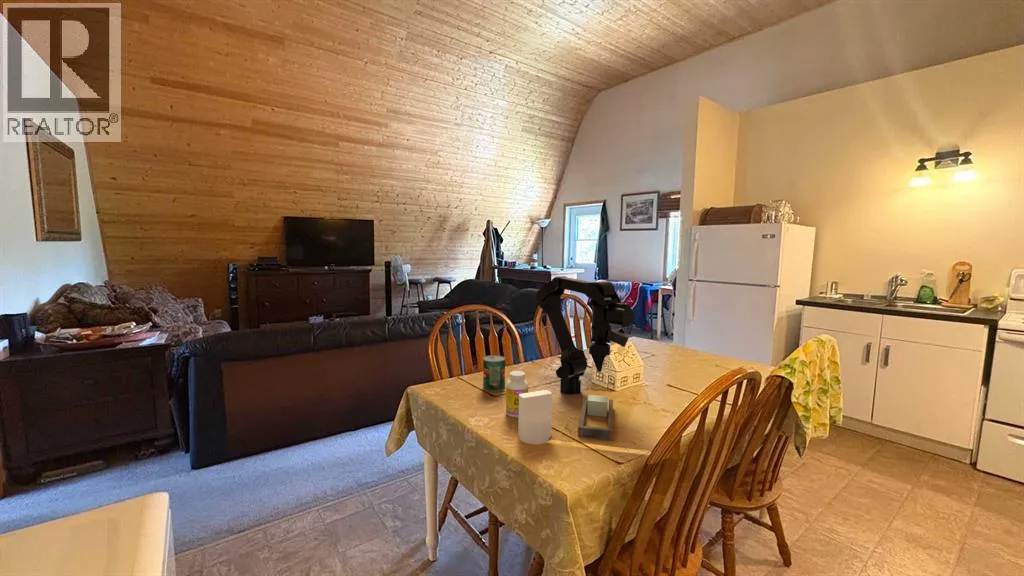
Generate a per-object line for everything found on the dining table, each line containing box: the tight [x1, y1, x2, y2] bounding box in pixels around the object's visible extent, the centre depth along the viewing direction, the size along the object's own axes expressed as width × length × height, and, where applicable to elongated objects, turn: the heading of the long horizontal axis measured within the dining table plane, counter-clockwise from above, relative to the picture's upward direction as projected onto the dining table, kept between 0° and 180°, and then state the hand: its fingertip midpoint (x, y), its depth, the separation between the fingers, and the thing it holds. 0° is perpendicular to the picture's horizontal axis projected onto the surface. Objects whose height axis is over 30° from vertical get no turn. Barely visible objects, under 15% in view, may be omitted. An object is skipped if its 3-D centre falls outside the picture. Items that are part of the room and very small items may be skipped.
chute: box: [577, 396, 614, 442], centre depth 121 cm, size 9×22×4 cm, turn 166°
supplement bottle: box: [505, 370, 529, 419], centre depth 127 cm, size 7×7×13 cm
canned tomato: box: [482, 354, 506, 393], centre depth 150 cm, size 8×8×11 cm
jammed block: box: [586, 394, 609, 418], centre depth 127 cm, size 6×5×4 cm
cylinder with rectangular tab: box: [517, 389, 553, 445], centre depth 113 cm, size 9×9×12 cm
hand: (599, 369), depth 134 cm, fingers open, 4 cm apart
